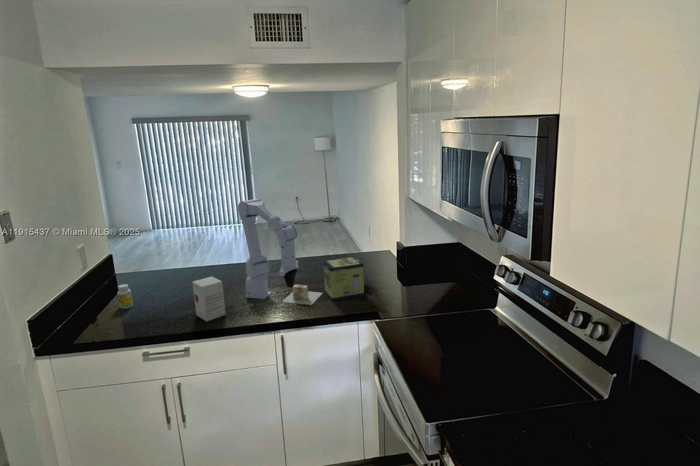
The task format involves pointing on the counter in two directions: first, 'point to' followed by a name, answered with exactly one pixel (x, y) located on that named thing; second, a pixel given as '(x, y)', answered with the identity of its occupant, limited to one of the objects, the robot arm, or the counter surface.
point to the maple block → (300, 292)
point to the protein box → (344, 278)
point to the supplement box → (209, 298)
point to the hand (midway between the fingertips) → (290, 286)
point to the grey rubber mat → (312, 298)
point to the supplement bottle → (124, 296)
